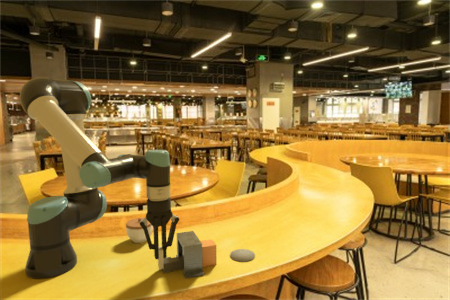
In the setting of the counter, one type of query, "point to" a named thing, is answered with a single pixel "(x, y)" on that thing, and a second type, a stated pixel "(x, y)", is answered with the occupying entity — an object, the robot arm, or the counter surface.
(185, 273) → the housing
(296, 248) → the counter surface
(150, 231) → the lidded jar
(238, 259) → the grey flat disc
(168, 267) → the plug
